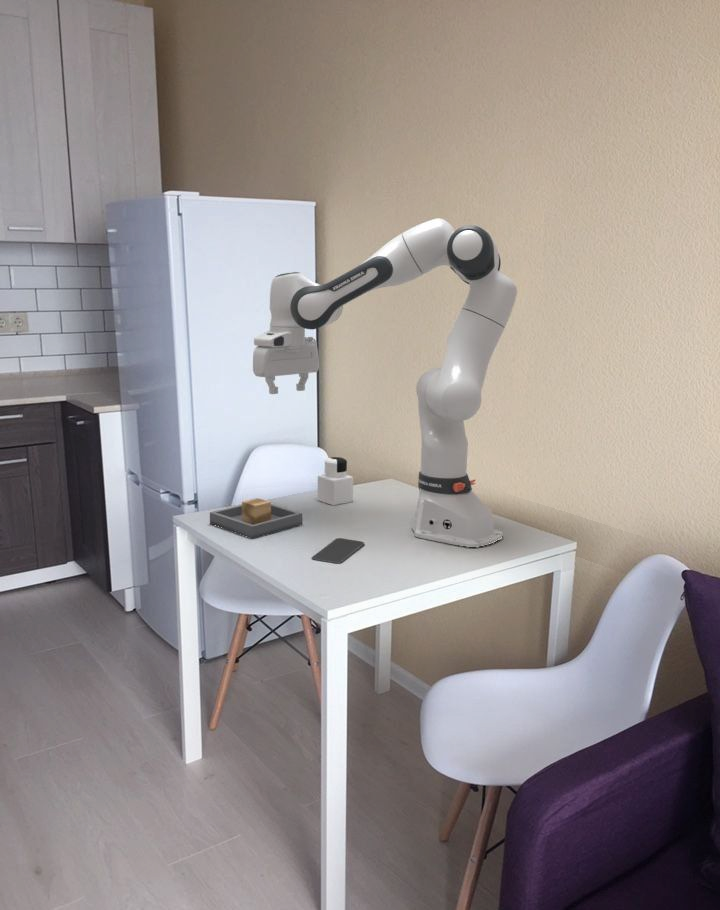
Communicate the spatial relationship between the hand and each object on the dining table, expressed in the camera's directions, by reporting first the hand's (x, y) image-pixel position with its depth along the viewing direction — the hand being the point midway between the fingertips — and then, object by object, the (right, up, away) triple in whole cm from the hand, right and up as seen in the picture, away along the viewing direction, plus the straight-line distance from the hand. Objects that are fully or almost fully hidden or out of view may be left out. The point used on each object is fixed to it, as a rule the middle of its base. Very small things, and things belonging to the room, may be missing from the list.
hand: (287, 392), depth 207 cm
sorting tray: (-7, -33, -9) cm, 35 cm away
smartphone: (+14, -38, -27) cm, 49 cm away
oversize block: (-7, -32, -9) cm, 34 cm away
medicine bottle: (+12, -29, +15) cm, 34 cm away
